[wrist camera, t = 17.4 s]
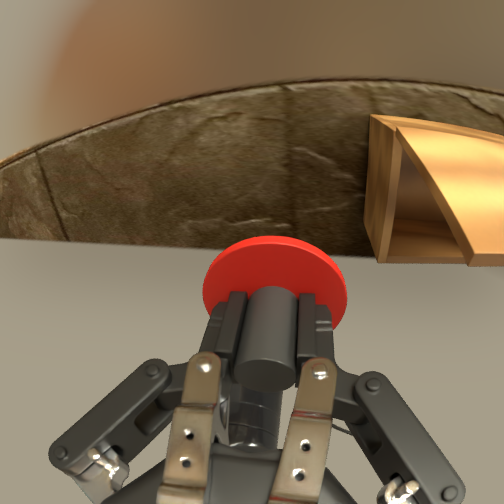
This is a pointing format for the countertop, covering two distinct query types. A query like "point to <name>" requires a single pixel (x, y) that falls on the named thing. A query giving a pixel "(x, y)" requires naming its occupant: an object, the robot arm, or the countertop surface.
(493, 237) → the chest lid
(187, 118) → the countertop surface
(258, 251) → the pan lid
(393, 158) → the chest
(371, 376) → the robot arm
